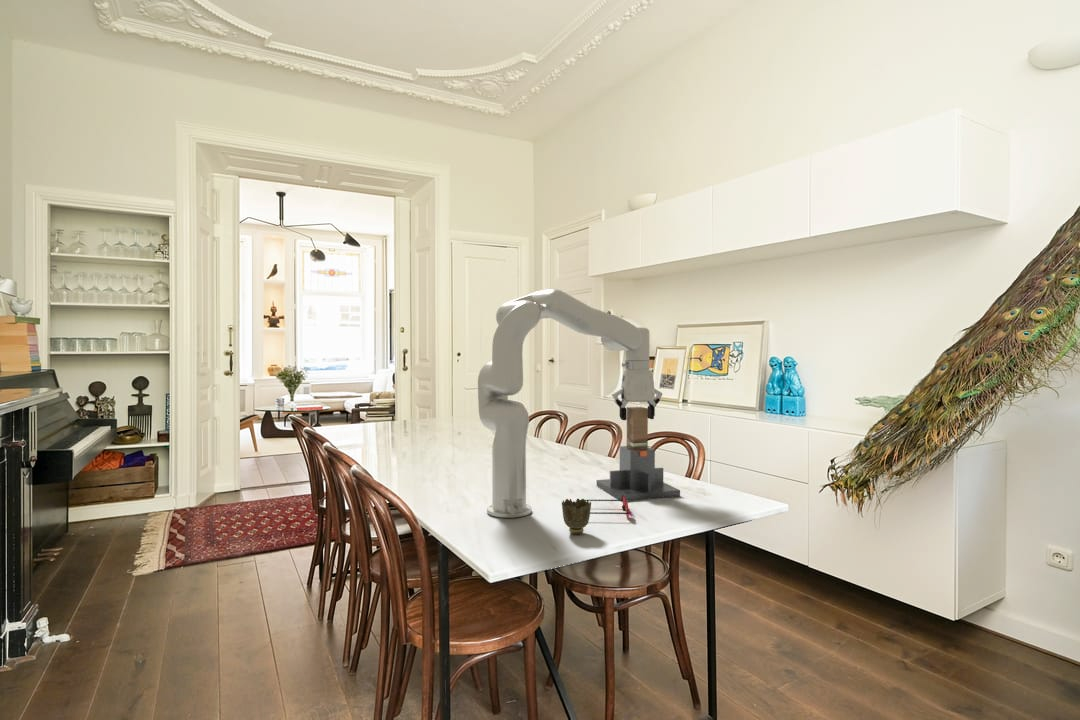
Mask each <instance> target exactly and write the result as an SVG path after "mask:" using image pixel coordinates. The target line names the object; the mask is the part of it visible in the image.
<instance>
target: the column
mask: <svg viewBox="0 0 1080 720" xmlns="http://www.w3.org/2000/svg"><path fill="white" fill-rule="evenodd" d="M626 409H627V419H626V446H627V448H629V449H631V450H642V449H648V447H649V443H648V436H649V434H648V433H649V432H648V431H649V428H648V427H649V426H648V425H649V418H648V407H642V406H628V407H626Z"/></svg>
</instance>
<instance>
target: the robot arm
mask: <svg viewBox="0 0 1080 720" xmlns="http://www.w3.org/2000/svg"><path fill="white" fill-rule="evenodd" d="M495 319H496V322H497V325H498V326H497V328H495V329H496V330H495V332H494V334H493V337H492V345H491V346H492V347H491V349H492V351H491V353H492V354H491V361H489V362H487V363H486V364H484V365H483V366H482V367H481V369H480V371H479V373H478V377H477V397H478V398H477V402H478V414H479V415H478V416H479V419H480V421H481V424H482V425H483V426H484V427H485V428H486V429H488V430H491V431H492V432H493V431H494V432H495V434H494V436H493V441H492V448H491V449H492V452H491V457H492V458H491V459H492V460H491V463H492V465H491V467H492V470H491V472H492V473H491V474H492V475H491V476H492V477H491V478H492V479H491V481H492V483H491V484H492V486H491V487H492V494H491V495H492V496H491V497H492V498H491V499H492V504H490V505H488V506H487V508H486V512H487V514H488V515H490V516H492V517H496V518H504V519H507V518H510V519H511V518H513V519H514V518H520V517H525V516H528V515H529V514H531V513H532V507H531V505H529V504H528V503H527V437H528V430H529V425H530V415H529V412H528V409H527V408H526V407H525V406H524V405H523V404H521V403H520V402H519V401H515V400H511V399H509V396H515V395H517V394H519V393H520V391H521V390H522V389H523V386H524V365H523V363H524V361H523V360H524V359H523V350H524V349H523V348H524V347H523V346H524V342H525V340H526V337H527V336H528V334H529V333H530V331H532V330H533V329H534V328H535V327H536V326H537V325H538V324H539V322H540V320H542V319H552V320H554V321H556V322H558V323H560V324H562V325H563V326H565V327H567V328H569V329H571V330H573V331H575V332H577V333H579V334H584V335H587V336H592V337H593V336H595V337H599V338H600V341H601V344H602V346H603V347H604V348H605V349H606V350H610V351H625V360H624V362H621V367H622V368H625V369H624V370H623V372H622V377H621V386H620V389H618V390H616V391H615V392H612V394H611V397H612V400H613V402H614V403H615V404H616V405H617V406H618V407H619V418H620V420H621V421H627V407H626V406H627V405H628V404H629V403H638V402H642V403H644V402H646V403H647V404H648V406H647V408H648V420H649V419H650V420H655V419H654V418H655V416H656V413H655V411H656V410H655V409H656V407H657V405H658V403H659V402H660V400H661V398H662V396H663V392H661V391H660V390H657V389H656V388H655V381H654V375H653V370H650V330H649V328H647V327H637V326H635V325H634V324H633V323H631V322H628V320H626V319H624V318H622V317H619V316H616V315H613V314H611V313H608V312H606V311H602V310H600V309H597V308H593V307H591V306H589V305H587V304H585V303H584V302H582V301H580V300H578V299H577V298H575V297H573V296H572V295H571V294H568V293H567V292H564V291H563V290H561V289H557V288H556V289H555V288H552V289H550V288H549V289H544V290H543V289H542V290H538V291H535V292H533V293H530V294H528V295H524V296H521V297H518V298H516V299H513V300H510V301H508V302H504V303H503V304H501V305H500V306H499V308H497V311H496V314H495ZM619 396H620V398H621V400H620V399H619Z"/></svg>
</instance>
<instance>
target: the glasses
mask: <svg viewBox="0 0 1080 720" xmlns="http://www.w3.org/2000/svg"><path fill="white" fill-rule="evenodd" d="M625 497H626V496H624V494H623V495H622V500H618V499H584V500H585V501H586V502H587V500H588V502H590V501H591V502H622V506H621V509H622V511H623V512H621V511H620V512H619V511H618V512H612V511H611V512H607V511H606V512H604V511H603V512H594V511H593V512H591V511H590V515H593V514H595V515H626V519H627V520H628V519H629V517H630V515H631V516H632V514H633V512H632V511H630V510H629V509H630V508H629V503H628V502H629V501H628V500H626V498H625Z"/></svg>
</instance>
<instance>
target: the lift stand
mask: <svg viewBox="0 0 1080 720" xmlns="http://www.w3.org/2000/svg"><path fill="white" fill-rule="evenodd" d="M655 461H656V450H655V448H652V447H649V446H648V449H642V450H631V449H629V448H627V445H623V446H622V445H621V446H619V470H609V478H605V479H596V487H597V486H598V487H597V488H599V487H600V488H601V489H600V488H599V489H600V490H602V489H603V490H602V491H604V492H605V491H606V492H605V493H607V494H608V493H609V495H610V496H612V497H613V498H615V500H622V495H623V494H624V496H626V497H625V498H626V500H628V501H627V502H629V501H640V500H655V499H665V498H666V499H667V498H679V497H681V490H680V489H679V488H677V487H674V486H672V485H671V484H668V483H665V481H664V468H663V467H656V462H655Z"/></svg>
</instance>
